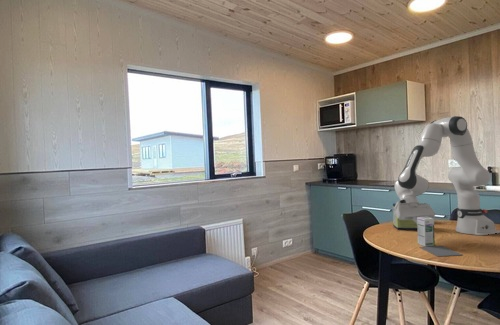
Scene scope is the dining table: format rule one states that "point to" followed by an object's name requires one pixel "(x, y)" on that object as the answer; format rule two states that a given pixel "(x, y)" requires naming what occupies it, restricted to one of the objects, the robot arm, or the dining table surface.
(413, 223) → the protein box
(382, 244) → the dining table surface
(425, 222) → the syrup box
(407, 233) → the dining table surface
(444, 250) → the mat
